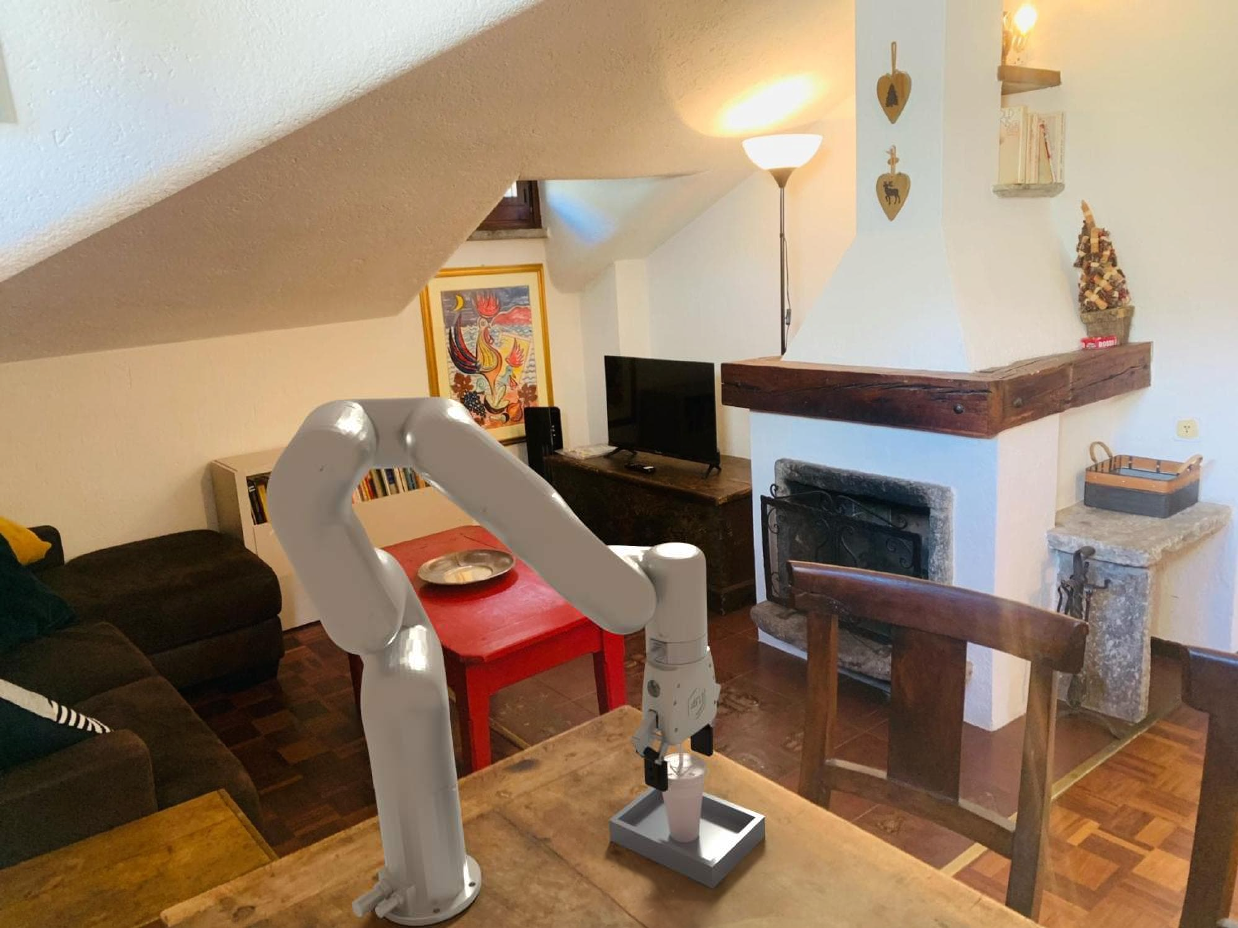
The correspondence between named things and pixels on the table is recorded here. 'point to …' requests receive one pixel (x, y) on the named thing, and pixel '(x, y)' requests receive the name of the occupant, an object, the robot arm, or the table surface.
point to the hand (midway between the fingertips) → (679, 769)
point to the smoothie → (684, 794)
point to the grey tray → (703, 859)
